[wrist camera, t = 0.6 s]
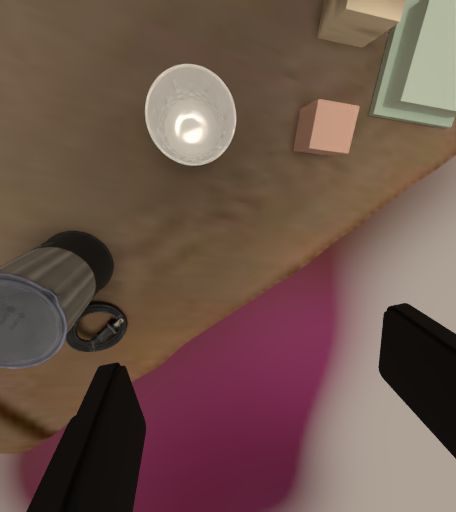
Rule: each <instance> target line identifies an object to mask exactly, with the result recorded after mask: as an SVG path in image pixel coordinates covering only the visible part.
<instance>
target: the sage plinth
mask: <svg viewBox="0 0 456 512" xmlns="http://www.w3.org/2000/svg"><path fill="white" fill-rule="evenodd" d="M368 116H374V117H380V118H385V119H391V120H397V121H403V122H409V123H415V124H421V125H426V126H432V127H438V128H451V126H452V123H453V121H454V118H455V117H456V0H421V1H419V0H406V1H405V5H404V8H403V12H402V16H401V20H400V22H399V23H398V24H396V25H395V26H393V27H392V28H391V29H390V32H389V36H388V40H387V44H386V48H385V52H384V56H383V60H382V64H381V68H380V72H379V76H378V79H377V83H376V87H375V91H374V95H373V99H372V103H371V107H370V111H369V115H368Z"/></svg>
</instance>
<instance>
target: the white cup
mask: <svg viewBox="0 0 456 512" xmlns="http://www.w3.org/2000/svg"><path fill="white" fill-rule="evenodd" d="M145 119H146V124H147V128H148V131H149V133H150V136H151V138H152V140H153V141H154V143H155V144H156V146H157V147H158V148H159V149H160V150H161V152H163V153H164V154H165V155H166V156H167V157H169V158H170V159H172V160H174V161H176V162H178V163H181V164H184V165H190V166H197V165H203V164H207V163H209V162H212V161H213V160H215V159H217V158H218V157H219V156H220V155H222V154H223V153H224V151H225V150H226V149H227V148H228V146H229V144H230V143H231V141H232V138H233V136H234V132H235V128H236V109H235V104H234V101H233V98H232V95H231V93H230V91H229V89H228V88H227V86H226V85H225V83H224V82H223V81H222V80H221V79H220V78H219V77H218V76H217V75H216V74H215V73H213V72H212V71H210V70H209V69H207V68H205V67H202V66H199V65H195V64H180V65H176V66H173V67H171V68H169V69H167V70H165V71H164V72H163V73H161V74H160V75H159V76H158V77H157V78H156V80H155V81H154V82H153V84H152V86H151V87H150V90H149V92H148V95H147V98H146V104H145Z"/></svg>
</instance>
